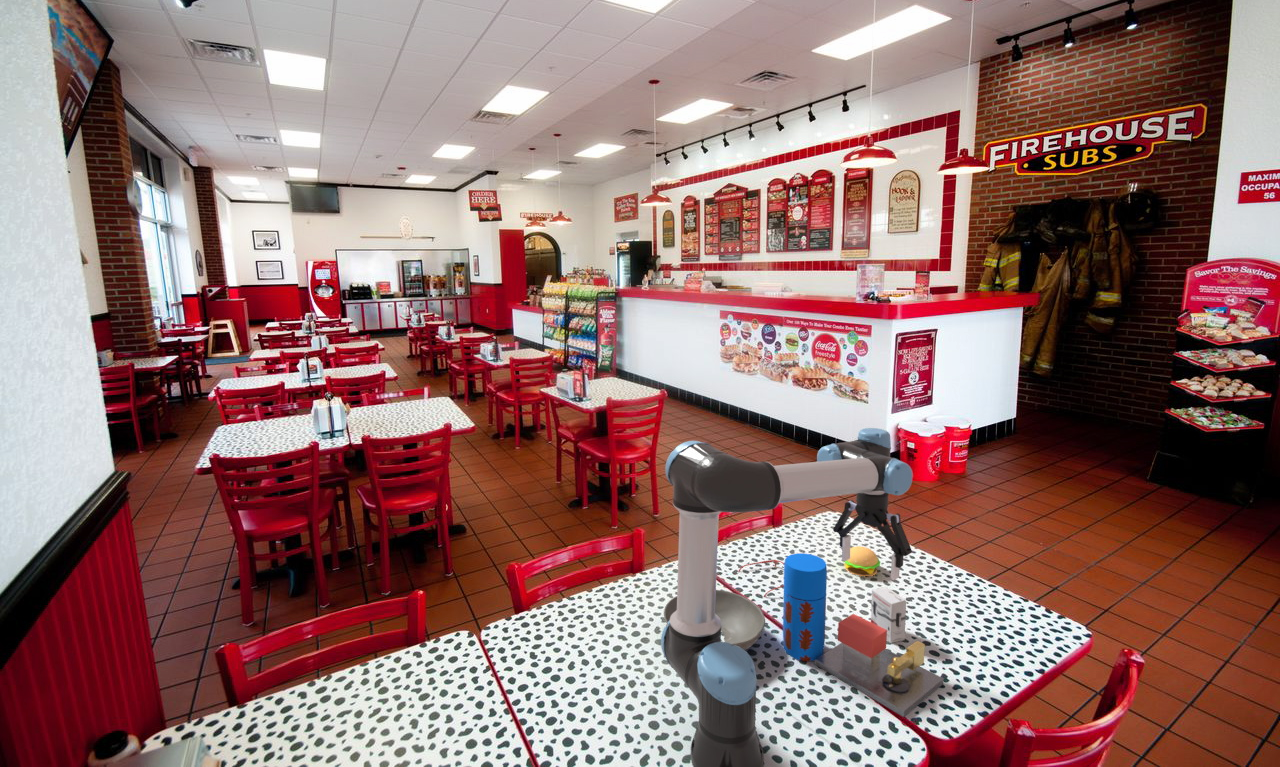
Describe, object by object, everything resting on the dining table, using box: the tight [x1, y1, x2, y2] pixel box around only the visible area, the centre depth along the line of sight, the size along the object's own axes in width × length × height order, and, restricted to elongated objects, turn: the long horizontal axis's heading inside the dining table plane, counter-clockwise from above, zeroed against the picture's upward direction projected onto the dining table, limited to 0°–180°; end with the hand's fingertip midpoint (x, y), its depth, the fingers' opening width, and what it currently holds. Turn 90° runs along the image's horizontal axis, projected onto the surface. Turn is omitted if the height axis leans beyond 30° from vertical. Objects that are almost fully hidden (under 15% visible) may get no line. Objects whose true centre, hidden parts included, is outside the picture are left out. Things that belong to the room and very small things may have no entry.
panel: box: [814, 642, 945, 718], centre depth 147 cm, size 18×24×6 cm
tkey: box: [887, 640, 926, 684], centre depth 143 cm, size 14×2×6 cm, turn 127°
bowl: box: [663, 589, 766, 651], centre depth 162 cm, size 27×28×8 cm
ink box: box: [870, 586, 907, 644], centre depth 164 cm, size 8×5×12 cm, turn 17°
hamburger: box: [844, 545, 881, 578], centre depth 199 cm, size 12×12×9 cm
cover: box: [837, 613, 888, 658], centre depth 149 cm, size 6×10×5 cm
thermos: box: [782, 552, 828, 662], centre depth 156 cm, size 11×11×25 cm
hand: (869, 568), depth 152 cm, fingers open, 13 cm apart
